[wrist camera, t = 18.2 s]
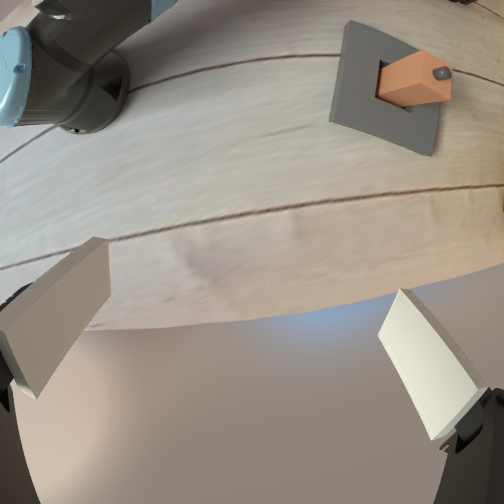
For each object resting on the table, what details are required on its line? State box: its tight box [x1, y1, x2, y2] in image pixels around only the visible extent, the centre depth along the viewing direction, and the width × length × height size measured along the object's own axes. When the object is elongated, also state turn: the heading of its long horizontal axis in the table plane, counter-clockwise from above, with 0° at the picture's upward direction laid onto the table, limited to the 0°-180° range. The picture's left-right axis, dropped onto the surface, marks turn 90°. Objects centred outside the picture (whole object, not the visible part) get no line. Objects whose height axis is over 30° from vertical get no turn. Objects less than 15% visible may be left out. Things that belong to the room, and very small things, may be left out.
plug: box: [375, 50, 452, 107], centre depth 27 cm, size 5×5×16 cm
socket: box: [329, 20, 440, 157], centre depth 33 cm, size 18×18×3 cm
